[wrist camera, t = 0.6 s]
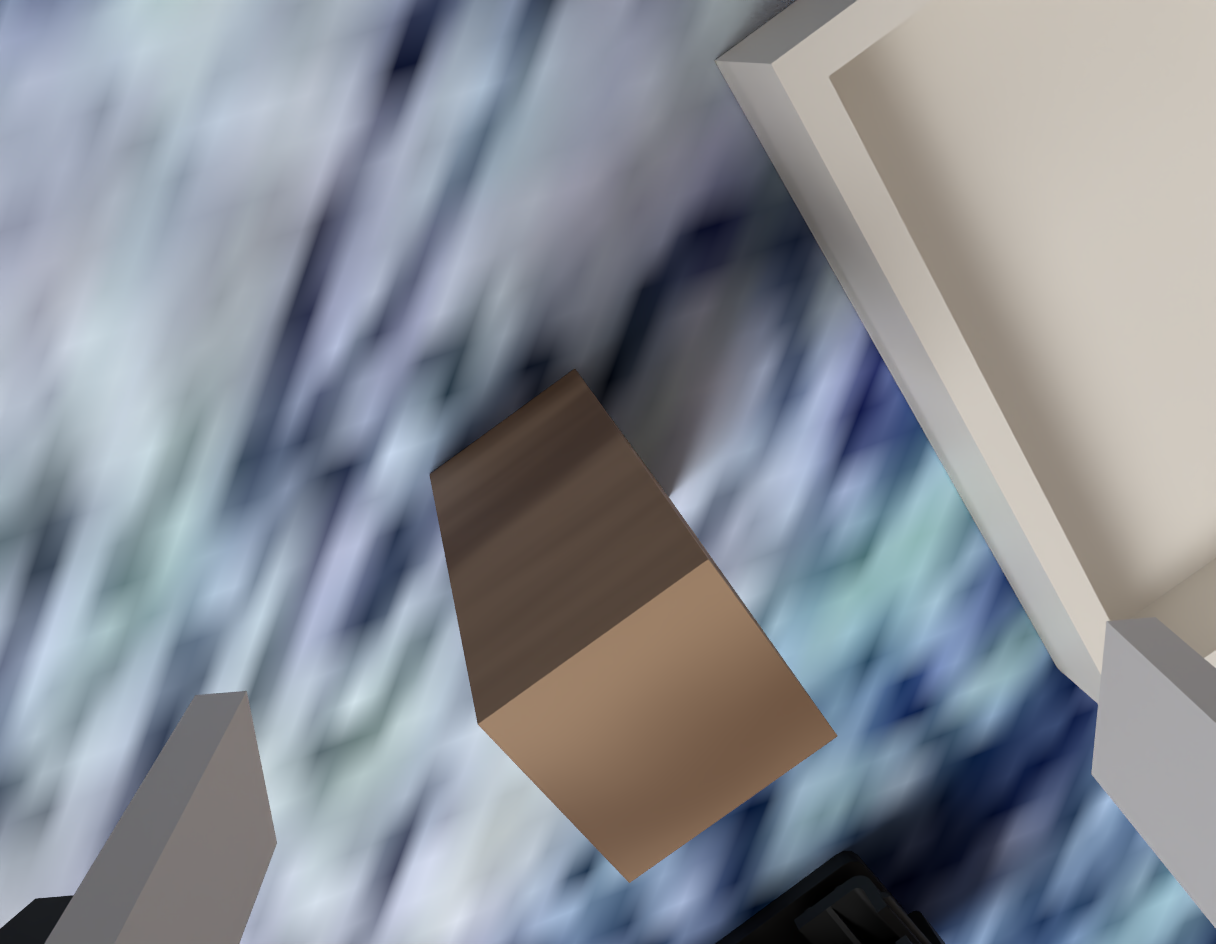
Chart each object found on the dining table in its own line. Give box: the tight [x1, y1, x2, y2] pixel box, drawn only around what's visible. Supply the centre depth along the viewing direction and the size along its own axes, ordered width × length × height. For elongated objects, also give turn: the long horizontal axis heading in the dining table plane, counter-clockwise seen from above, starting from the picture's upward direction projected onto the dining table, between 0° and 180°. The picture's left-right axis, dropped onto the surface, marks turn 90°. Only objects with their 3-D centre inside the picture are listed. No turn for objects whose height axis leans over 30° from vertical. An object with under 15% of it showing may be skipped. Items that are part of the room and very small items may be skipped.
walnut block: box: [430, 369, 837, 883], centre depth 25 cm, size 5×5×12 cm
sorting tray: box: [715, 0, 1216, 703], centre depth 30 cm, size 24×16×4 cm, turn 34°
